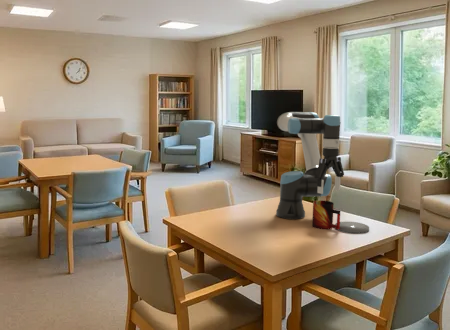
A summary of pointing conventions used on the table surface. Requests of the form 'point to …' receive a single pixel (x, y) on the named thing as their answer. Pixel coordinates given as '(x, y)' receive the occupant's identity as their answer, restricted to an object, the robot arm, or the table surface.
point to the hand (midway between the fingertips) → (328, 191)
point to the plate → (353, 227)
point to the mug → (324, 215)
